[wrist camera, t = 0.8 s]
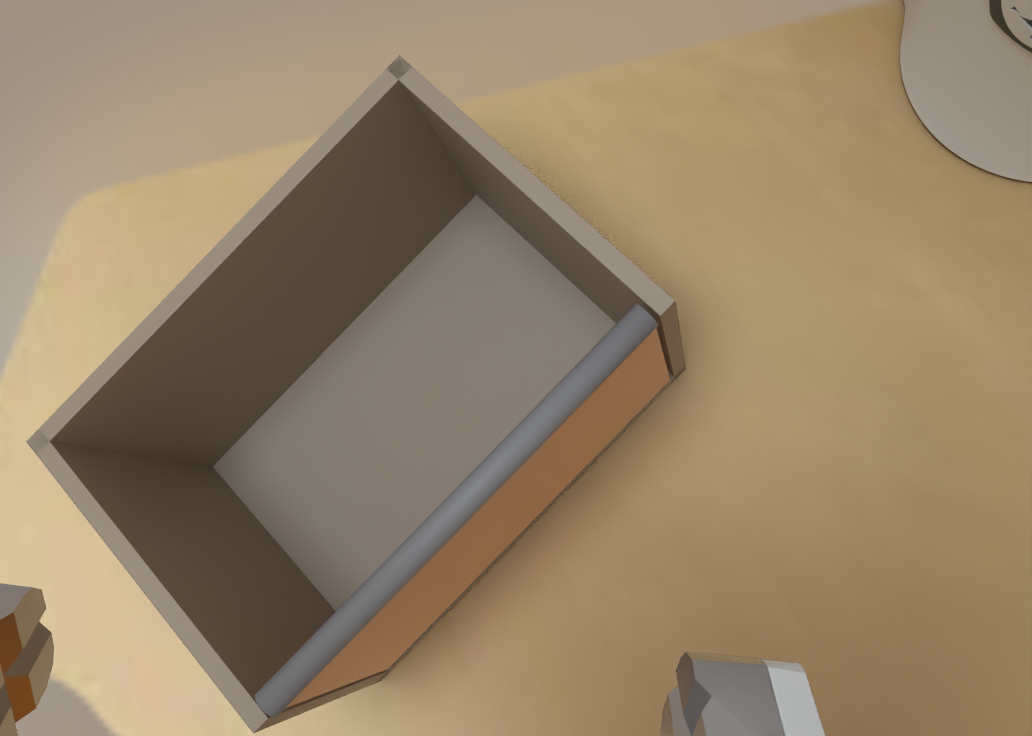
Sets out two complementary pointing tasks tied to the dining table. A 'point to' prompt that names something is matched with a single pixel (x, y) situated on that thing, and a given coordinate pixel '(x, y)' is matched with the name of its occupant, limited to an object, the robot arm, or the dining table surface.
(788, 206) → the dining table surface
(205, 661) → the open carton
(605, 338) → the flap
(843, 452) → the dining table surface
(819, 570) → the dining table surface
